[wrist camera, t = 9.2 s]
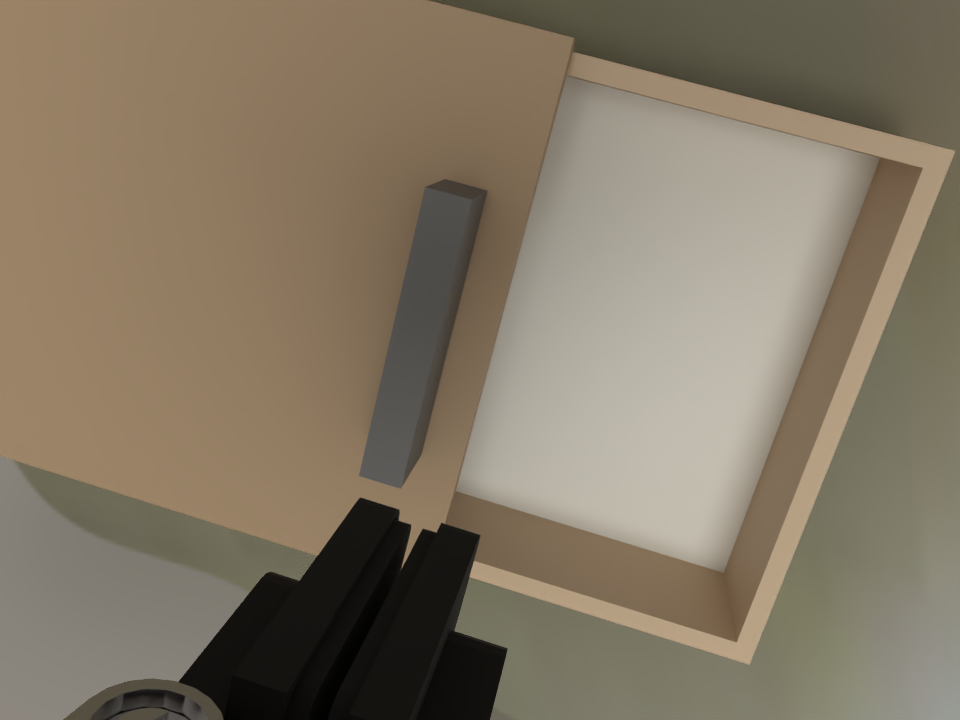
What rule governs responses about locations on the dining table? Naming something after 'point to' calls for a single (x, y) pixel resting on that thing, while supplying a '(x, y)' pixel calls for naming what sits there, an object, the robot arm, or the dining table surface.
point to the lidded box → (683, 349)
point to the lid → (262, 247)
